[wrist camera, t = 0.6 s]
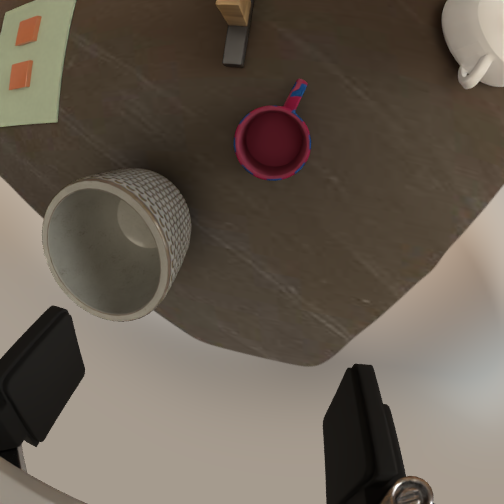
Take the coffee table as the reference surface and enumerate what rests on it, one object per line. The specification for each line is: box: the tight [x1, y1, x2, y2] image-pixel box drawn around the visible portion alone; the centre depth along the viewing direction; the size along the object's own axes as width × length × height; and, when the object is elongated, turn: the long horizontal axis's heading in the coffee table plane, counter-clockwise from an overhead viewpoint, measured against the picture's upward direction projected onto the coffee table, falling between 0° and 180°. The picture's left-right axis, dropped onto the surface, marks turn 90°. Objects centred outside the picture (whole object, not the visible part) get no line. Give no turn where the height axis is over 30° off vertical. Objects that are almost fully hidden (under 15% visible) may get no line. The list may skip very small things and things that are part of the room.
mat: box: [0, 0, 76, 127], centre depth 29 cm, size 20×16×1 cm
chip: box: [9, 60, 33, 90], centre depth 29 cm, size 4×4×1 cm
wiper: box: [216, 0, 254, 68], centre depth 23 cm, size 12×2×8 cm, turn 172°
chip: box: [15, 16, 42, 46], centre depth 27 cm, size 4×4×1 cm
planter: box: [42, 168, 191, 322], centre depth 31 cm, size 14×14×13 cm
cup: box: [234, 79, 311, 181], centre depth 29 cm, size 7×10×7 cm
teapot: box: [442, 0, 504, 89], centre depth 19 cm, size 20×12×10 cm, turn 145°
